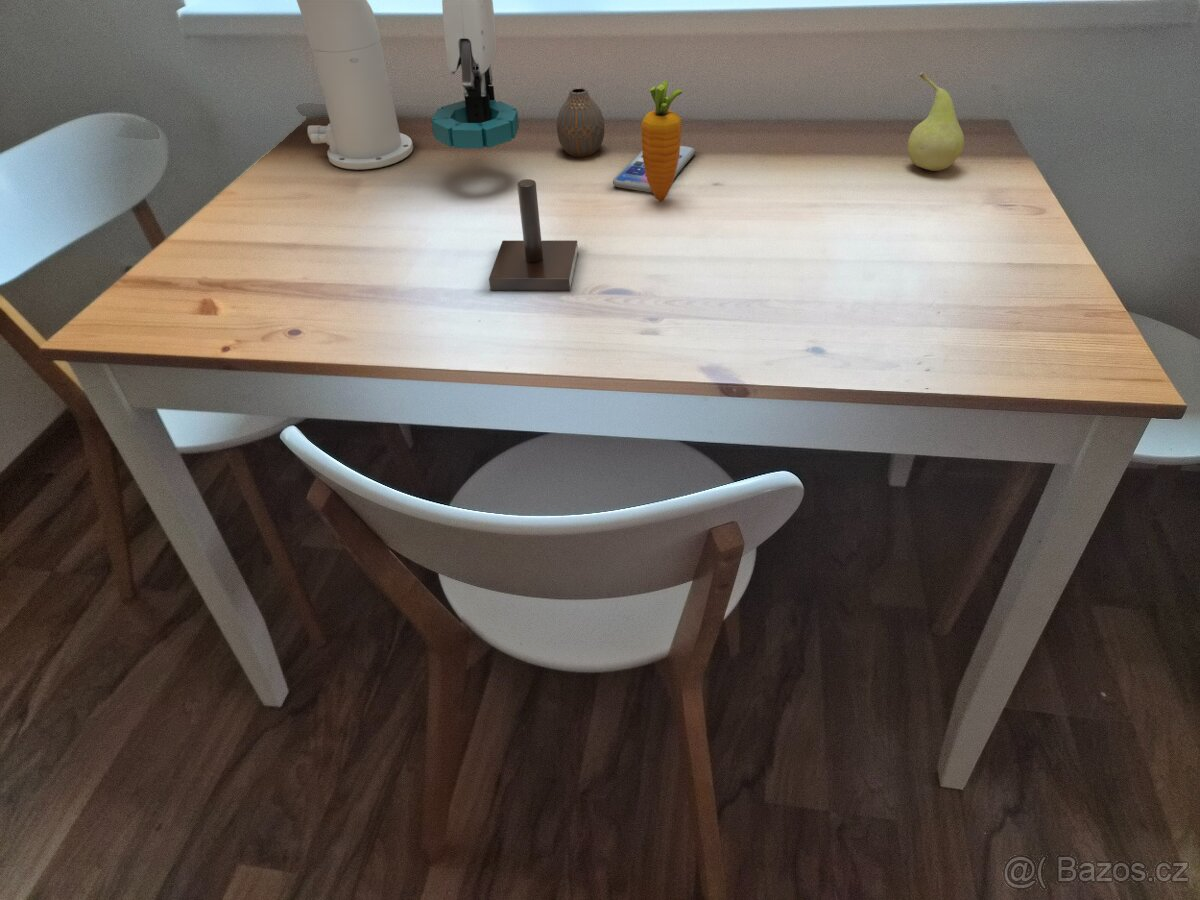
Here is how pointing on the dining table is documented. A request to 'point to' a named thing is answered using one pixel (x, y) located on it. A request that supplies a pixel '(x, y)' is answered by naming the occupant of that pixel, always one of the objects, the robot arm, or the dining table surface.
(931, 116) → the fruit
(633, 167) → the smartphone
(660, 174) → the carrot
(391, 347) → the dining table surface
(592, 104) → the vase
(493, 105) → the ring
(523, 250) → the stand
